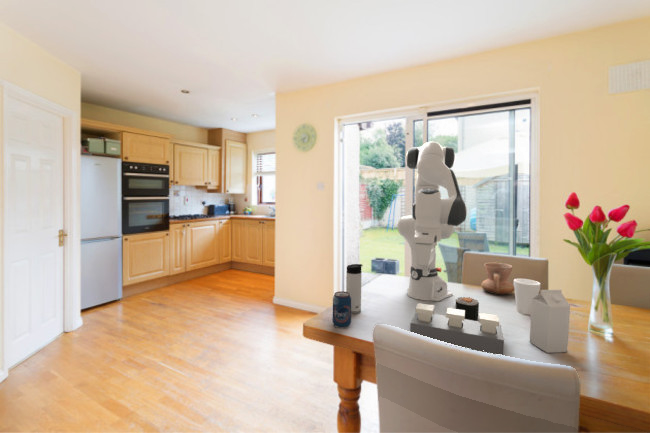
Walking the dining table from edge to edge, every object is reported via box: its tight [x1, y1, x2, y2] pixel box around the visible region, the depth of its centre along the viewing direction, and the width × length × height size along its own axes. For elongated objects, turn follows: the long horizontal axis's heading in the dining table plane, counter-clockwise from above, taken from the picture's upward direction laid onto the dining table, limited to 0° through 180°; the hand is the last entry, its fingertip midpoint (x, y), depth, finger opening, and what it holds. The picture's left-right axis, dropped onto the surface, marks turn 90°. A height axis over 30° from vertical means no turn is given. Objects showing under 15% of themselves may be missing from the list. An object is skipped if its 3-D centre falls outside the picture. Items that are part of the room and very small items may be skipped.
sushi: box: [454, 296, 480, 321], centre depth 122 cm, size 8×8×8 cm
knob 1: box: [415, 302, 435, 322], centre depth 109 cm, size 6×6×5 cm
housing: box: [409, 312, 505, 356], centre depth 105 cm, size 28×12×5 cm, turn 64°
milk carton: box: [529, 289, 571, 354], centre depth 99 cm, size 7×7×19 cm
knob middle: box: [445, 307, 465, 328], centre depth 105 cm, size 6×6×5 cm
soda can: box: [332, 290, 352, 329], centre depth 115 cm, size 7×7×12 cm
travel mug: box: [345, 263, 363, 315], centre depth 129 cm, size 6×7×20 cm
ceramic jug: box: [481, 261, 515, 296], centre depth 155 cm, size 18×14×14 cm
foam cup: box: [513, 278, 541, 316], centre depth 129 cm, size 10×9×13 cm
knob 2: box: [478, 312, 500, 334], centre depth 101 cm, size 6×6×5 cm
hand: (426, 274), depth 108 cm, fingers open, 3 cm apart
